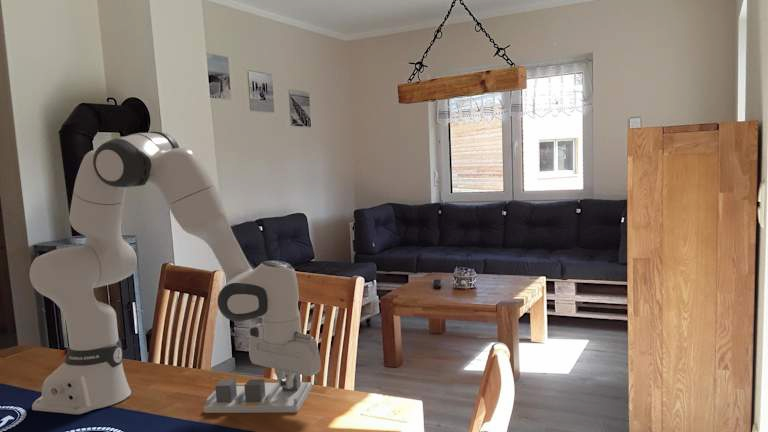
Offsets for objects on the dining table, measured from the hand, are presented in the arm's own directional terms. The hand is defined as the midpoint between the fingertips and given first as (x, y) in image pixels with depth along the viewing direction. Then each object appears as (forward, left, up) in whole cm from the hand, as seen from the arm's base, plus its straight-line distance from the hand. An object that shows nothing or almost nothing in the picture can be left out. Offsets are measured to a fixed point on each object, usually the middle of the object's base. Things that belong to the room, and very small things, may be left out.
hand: (286, 387), depth 142 cm
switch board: (-7, +1, -4) cm, 8 cm away
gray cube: (-14, -2, -2) cm, 14 cm away
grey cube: (0, +4, -2) cm, 5 cm away
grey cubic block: (-7, -2, -2) cm, 8 cm away
